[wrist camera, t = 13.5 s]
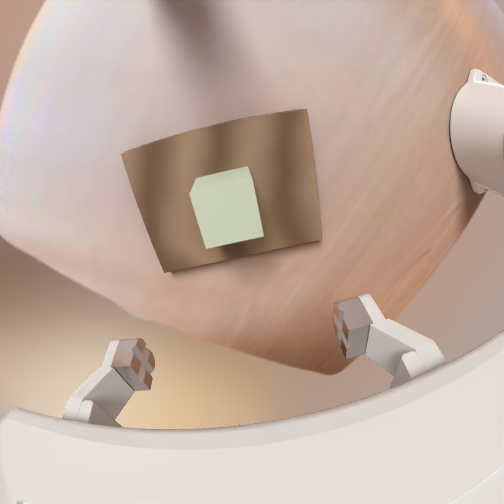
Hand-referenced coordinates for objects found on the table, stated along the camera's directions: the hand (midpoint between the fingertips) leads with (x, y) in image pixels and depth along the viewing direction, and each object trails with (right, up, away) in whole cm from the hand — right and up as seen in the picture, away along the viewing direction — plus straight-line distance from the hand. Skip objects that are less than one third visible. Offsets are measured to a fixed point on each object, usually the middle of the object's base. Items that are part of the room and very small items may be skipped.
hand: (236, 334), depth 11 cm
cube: (-2, +9, +15) cm, 18 cm away
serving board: (-2, +9, +17) cm, 19 cm away
